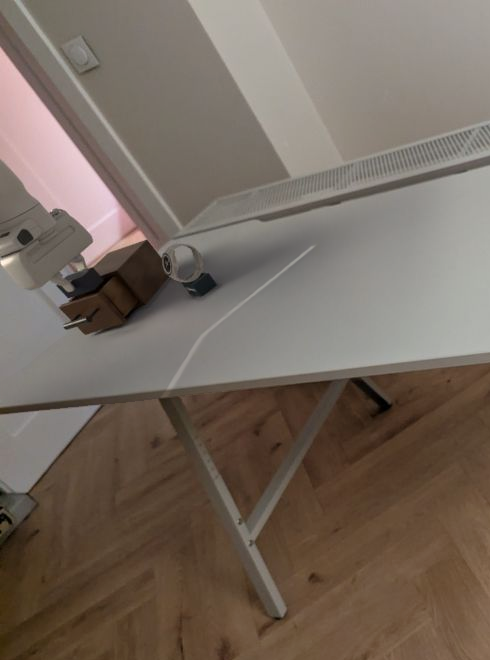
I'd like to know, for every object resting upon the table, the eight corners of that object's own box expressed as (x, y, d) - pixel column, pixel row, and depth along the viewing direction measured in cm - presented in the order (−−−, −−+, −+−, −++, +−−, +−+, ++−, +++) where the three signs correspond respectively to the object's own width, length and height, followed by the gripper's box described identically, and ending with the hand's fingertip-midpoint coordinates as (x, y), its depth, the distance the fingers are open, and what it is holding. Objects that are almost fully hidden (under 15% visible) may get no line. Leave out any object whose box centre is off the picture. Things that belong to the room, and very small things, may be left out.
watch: (182, 299, 119) (149, 257, 112) (211, 278, 123) (180, 236, 117) (194, 302, 116) (161, 259, 109) (223, 280, 120) (193, 237, 113)
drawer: (112, 336, 114) (85, 307, 109) (73, 348, 116) (44, 320, 111) (151, 289, 128) (129, 262, 123) (115, 301, 130) (92, 274, 125)
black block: (68, 298, 116) (55, 285, 113) (78, 288, 119) (66, 275, 117) (94, 290, 114) (82, 276, 112) (104, 280, 117) (92, 266, 115)
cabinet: (145, 304, 124) (116, 270, 118) (104, 317, 126) (74, 284, 121) (172, 272, 135) (147, 239, 130) (134, 284, 138) (107, 252, 132)
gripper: (47, 209, 116) (94, 262, 124) (-19, 255, 100) (39, 313, 108) (71, 200, 115) (116, 255, 123) (7, 246, 99) (64, 305, 107)
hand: (80, 283), depth 115 cm, fingers closed on black block, 4 cm apart
